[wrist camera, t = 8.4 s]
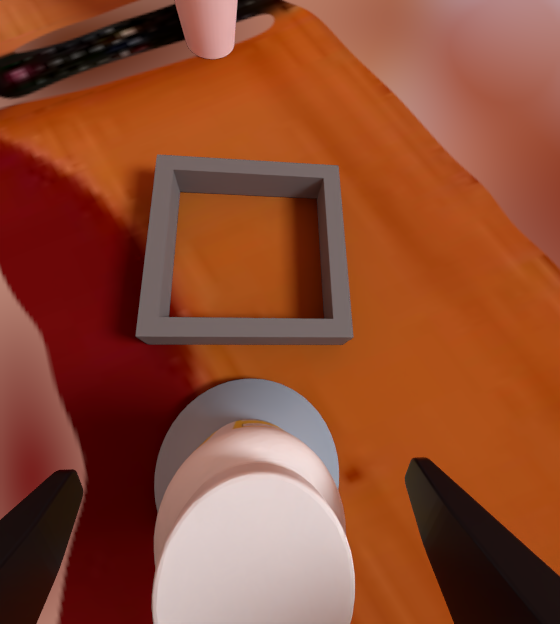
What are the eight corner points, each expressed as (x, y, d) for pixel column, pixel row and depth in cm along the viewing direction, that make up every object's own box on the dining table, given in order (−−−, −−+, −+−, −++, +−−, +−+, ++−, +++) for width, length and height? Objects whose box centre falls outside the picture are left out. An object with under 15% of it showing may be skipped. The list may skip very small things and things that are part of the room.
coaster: (245, 625, 14) (245, 634, 14) (118, 472, 15) (114, 474, 15) (370, 467, 17) (374, 469, 16) (252, 346, 18) (252, 344, 17)
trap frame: (342, 344, 18) (353, 337, 17) (147, 344, 17) (135, 336, 15) (330, 186, 22) (338, 165, 20) (165, 178, 21) (157, 154, 19)
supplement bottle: (214, 564, 14) (151, 863, 5) (178, 444, 15) (75, 500, 6) (321, 509, 15) (438, 668, 6) (280, 401, 17) (323, 394, 7)
